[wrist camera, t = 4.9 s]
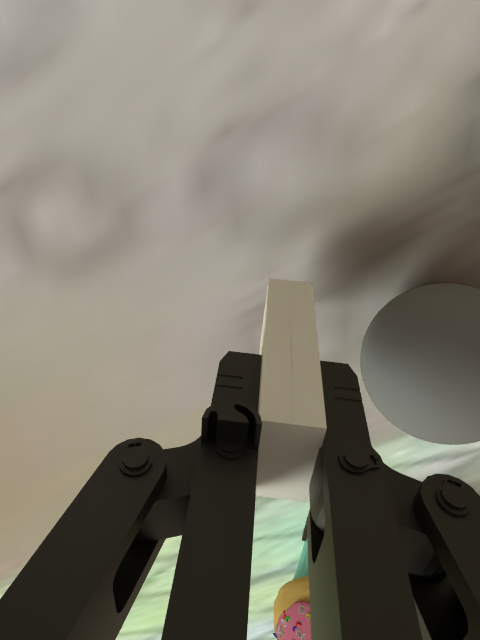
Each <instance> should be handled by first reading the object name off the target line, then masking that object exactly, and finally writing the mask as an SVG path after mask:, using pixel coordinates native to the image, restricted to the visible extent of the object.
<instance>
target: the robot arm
mask: <svg viewBox="0 0 480 640" xmlns="http://www.w3.org/2000/svg"><path fill="white" fill-rule="evenodd" d="M309 493H310V510H309V514H308V517H307V521H306V524H305V528H304V531H303V536H302V540H303V541H306V540H307V544H308V570H309V596H310V622H311V640H480V496H479V495H478V494H477V493H476V492H475V490H474V489H473V488H472V487H471V486H469V485H468V484H466V483H465V482H463V481H462V480H460V479H458V478H455V477H453V476H450V475H446V474H434V475H431V476H428V477H427V478H426V479H425V480H424V481H423V482H421V481H418V480H416V479H413V478H411V477H408V476H406V475H403V474H401V473H399V472H397V471H395V470H393V469H391V468H390V467H388V466H387V465H385V464H384V463H383V461H382V459H381V457H380V455H379V454H378V453H377V452H376V451H375V450H374V449H373V448H372V445H371V442H370V437H369V432H368V427H367V422H366V417H365V412H364V407H363V403H362V398H361V393H360V388H359V383H358V378H357V375H356V374H355V373H354V372H353V370H352V369H351V368H350V366H349V365H348V364H344V363H336V362H327V361H320V356H319V346H318V336H317V327H316V317H315V307H314V297H313V287H312V283H306V282H297V281H288V280H279V279H270V278H269V281H268V288H267V296H266V303H265V311H264V319H263V326H262V334H261V342H260V354H259V355H258V354H249V353H241V352H232V351H229V352H228V353H227V354H226V355H225V356H224V357H223V358H222V359H221V361H220V363H219V368H218V373H217V378H216V383H215V388H214V393H213V398H212V403H211V406H210V407H209V408H207V409H206V411H205V413H204V415H203V417H202V432H201V436H200V437H199V438H198V439H197V440H195V441H194V442H192V443H190V444H188V445H185V446H181V447H177V448H170V449H164V450H163V449H162V447H161V446H160V445H159V444H157V443H156V442H154V441H152V440H150V439H143V438H135V439H129V440H126V441H124V442H122V443H120V444H118V445H116V446H115V447H114V448H113V449H112V450H111V451H110V452H109V453H108V454H107V456H106V457H105V458H104V460H103V461H102V463H101V464H100V465H99V467H98V468H97V469H96V471H95V472H94V473H93V475H92V476H91V477H90V479H89V480H88V481H87V483H86V484H85V485H84V487H83V488H82V490H81V491H80V492H79V494H78V495H77V496H76V498H75V499H74V500H73V502H72V503H71V504H70V506H69V507H68V508H67V510H66V511H65V513H64V514H63V515H62V517H61V518H60V519H59V521H58V522H57V523H56V525H55V526H54V527H53V529H52V530H51V531H50V533H49V534H48V535H47V537H46V538H45V540H44V541H43V542H42V544H41V545H40V546H39V548H38V549H37V550H36V552H35V553H34V554H33V556H32V557H31V558H30V560H29V561H28V562H27V564H26V565H25V567H24V568H23V569H22V571H21V572H20V573H19V575H18V576H17V577H16V579H15V580H14V581H13V583H12V584H11V585H10V587H9V588H8V590H7V591H6V592H5V594H4V595H3V596H2V598H1V599H0V640H115V639H116V637H117V635H118V633H119V631H120V629H121V627H122V625H123V623H124V621H125V619H126V617H127V615H128V613H129V611H130V609H131V607H132V605H133V603H134V601H135V599H136V597H137V595H138V593H139V591H140V589H141V587H142V585H143V583H144V581H145V579H146V577H147V575H148V573H149V571H150V569H151V567H152V565H153V563H154V561H155V559H156V557H157V555H158V553H159V551H160V549H161V547H162V545H163V543H164V541H165V539H166V538H170V537H175V536H180V535H182V540H181V544H180V549H179V554H178V559H177V564H176V569H175V574H174V579H173V584H172V589H171V594H170V599H169V604H168V609H167V614H166V619H165V624H164V629H163V634H162V639H161V640H247V624H248V608H249V592H250V576H251V560H252V544H253V528H254V512H255V496H264V497H272V498H280V499H288V500H296V501H304V502H306V501H307V498H308V494H309Z"/></svg>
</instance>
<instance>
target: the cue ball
mask: <svg viewBox="0 0 480 640" xmlns="http://www.w3.org/2000/svg"><path fill="white" fill-rule="evenodd" d="M360 365H361V372H362V378H363V381H364V384H365V387H366V390H367V392H368V394H369V396H370V398H371V400H372V401H373V403H374V405H375V406H376V407H377V409H378V410H379V411H380V412H381V413H382V414H383V415H384V416H385V417H386V419H387V420H389V421H390V422H391V423H392V424H393V425H395V426H396V427H398V428H399V429H401V430H402V431H404V432H406V433H408V434H409V435H411V436H414V437H416V438H419V439H422V440H425V441H429V442H433V443H439V444H449V445H458V444H468V443H474V442H478V441H480V289H478V288H475V287H471V286H467V285H463V284H456V283H435V284H429V285H424V286H420V287H416V288H414V289H411V290H409V291H406V292H404V293H402V294H401V295H399V296H397V297H395V298H394V299H393V300H391V301H390V302H389V303H387V304H386V305H385V306H384V307H383V308H382V309H381V310H380V311H379V312H378V314H377V315H376V316H375V317H374V319H373V320H372V322H371V324H370V326H369V327H368V329H367V331H366V334H365V337H364V340H363V343H362V348H361V357H360Z"/></svg>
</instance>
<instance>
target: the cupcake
mask: <svg viewBox="0 0 480 640" xmlns="http://www.w3.org/2000/svg"><path fill="white" fill-rule="evenodd" d="M274 629H275V633H273V635H274V636H275V637H276V638H277V640H311V622H310V596H309V570H308V544H307V540H306V541H305V542H304V546H303V550H302V554H301V557H300V561H299V564H298V567H297V570H296V573H295V576H294V578H293V580H292V581H290V582H288V583H286V584H285V585H284V586H282V587H281V589H280V590H279V593H278V595H277V598H276V599H275V602H274Z"/></svg>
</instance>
